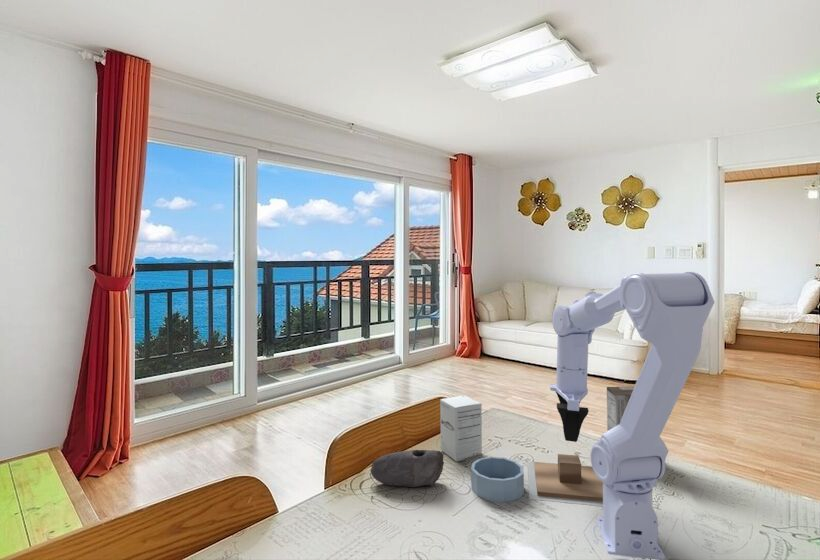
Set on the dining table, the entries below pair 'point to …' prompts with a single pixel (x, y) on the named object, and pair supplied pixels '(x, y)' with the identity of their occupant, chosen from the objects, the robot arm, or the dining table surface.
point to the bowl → (497, 479)
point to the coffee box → (617, 404)
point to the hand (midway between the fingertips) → (569, 432)
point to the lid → (568, 480)
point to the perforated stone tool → (409, 468)
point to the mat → (534, 496)
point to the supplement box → (461, 427)
